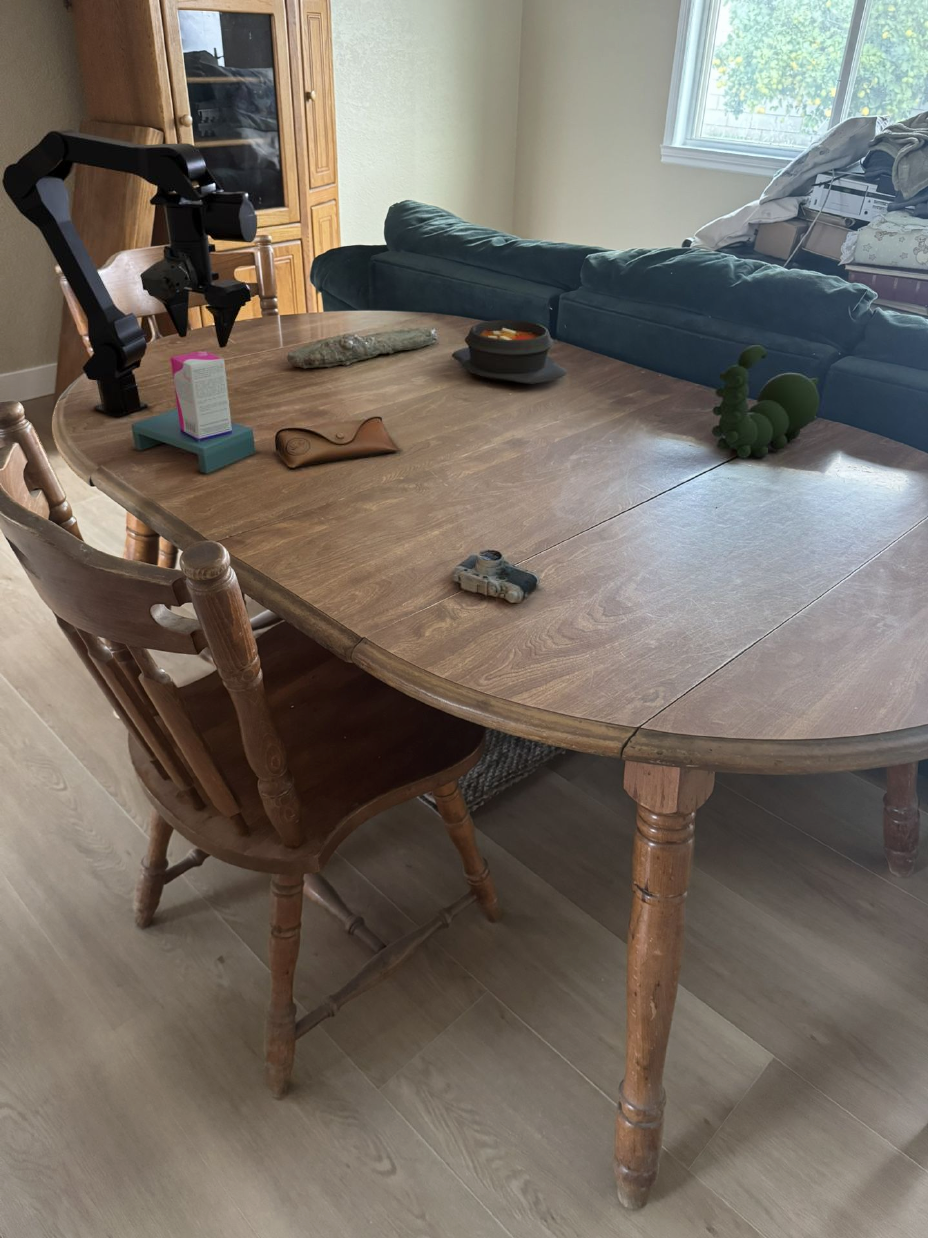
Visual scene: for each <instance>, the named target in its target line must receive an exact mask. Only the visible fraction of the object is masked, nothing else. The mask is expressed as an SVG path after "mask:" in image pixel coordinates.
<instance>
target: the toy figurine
mask: <svg viewBox="0 0 928 1238" xmlns="http://www.w3.org/2000/svg"><path fill="white" fill-rule="evenodd" d="M760 358H761V359H766V358H767V351H766V349H765V347H764V346H761V345H759V344H755V345H754V344H753V345H750V346H748V347H747V348H745V349H744V350H742V352H741V353H740V354H739V356H738V359H737V364H735V365H731V366H729V367H728V368H727V369H726V371H723V372H720V374H719V380H721V381H722V382H724V384H723V386H720V387H717V388H716V390H715V395H716V396H717V397H718V398H721V399H722V401H721V402H720V404H719V405H718V404H717V405H715V406H714V407H713V409H712V413H713V415H715V416H720V418H719V420H718V424H716V425H714V426H712V429H711V434H712V435H713V437H715V438H718V440H717V442H716V446H717V448H718V449H719V450H721V451H725V450H728V449H729V448H732V449H734V450H736V453H737V456H738V457H739V458H744V459H745V458H747V457H749V456H750V455H751V453H753V454H754V456H756V457H757V458H759V459H762V458H765V457H766V456H767V455H768V453H769V448H768V447H767V446H768V445H770V447H771V448H772V449H774V450H782V449H784V448H785V446H786V445H787V443H788V441H791V440H795V439H797V438H798V437H799V436H800V434H801V430H802V429H803V428H805V427H807V426H808V425H809V424H810V423H813V422H814V421H815V420H816V415H817V414H818V410H819V406H820V396H819V392H818V389H817V385H818V383H819V378H818V377H813V378H808V377H807V376H806V375H803V374H802V373H797V372H785V373H781V374H778V375H776V376H774V377H772V378H771V379H769V380H768V381H767V382H765V384H764V385H763V386H762V388H761V389H760V391H759V393H758V396H757V400H756V403H754V404H753V405H752V406H751V407H750V406H749V405H750V404H749V402H748V400H747V399H748V396H749V394H750V393H749V392H750V391H749V386H748V384H747V383H748V381H749V373H748V370H749V369H751V368H752V367H754V365H756V363H757V362H758V361H759V360H760Z"/></svg>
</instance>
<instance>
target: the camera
mask: <svg viewBox="0 0 928 1238" xmlns="http://www.w3.org/2000/svg"><path fill="white" fill-rule="evenodd" d="M451 575H452V576H451V578H452V580H453V581H454V582H457V583H459V584H460V588H461V589H462V590H464V591H467V592H468V591H469V592H472V593H474V594H475V593H480V594H483V595H484V596H491V597H494V598H501V599H504V600H506V601H508V602H509V603H512V604H513V603H516V604H519V603H522V601H524V600H525V599H526V598H528V597H529V595H530V594H532V593H533V592H535V590H537V589H538V588H539V586H540V583H541V580H540V577H539V576H538V575H537V574H536V573H535V572H533V571H529V570H527V569H524V568H521V567H518V566H516V565H515V564H512V563H510V562H508V561H507V560H506V559H505V557H504V555H503V553H502V551H498V550H495V549H483V550H480V551H479V552H478V553H477V554H471V555H469V556H468V557H467V558H465V559H464V560H463V561H462V562H460V563H459V564H457V565H456V566H455V567H453V569H452V571H451Z"/></svg>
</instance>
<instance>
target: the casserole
mask: <svg viewBox="0 0 928 1238" xmlns="http://www.w3.org/2000/svg"><path fill="white" fill-rule="evenodd" d="M464 342H465V344H466V345H467V346H466V347H463V348H461V349H457V350H455V351H454V352H453V353H452V354H451V357H452V358H453V359H454V360H456V361H457V362H458V363H459V364H460V366H461V367H462V369H464V370H466V371H467V372H469V373H471V374H474V375H477V376H479V377H483V378H485V379H489V380H493V381H499V382H515V383H521V384H526V385H527V384H528V385H532V384H533V385H534V384H542V383H547V382H552V381H556V380H558V379H561V378H562V377H565V376H566V375H567V374H568V372H567V370H566V369H565V368H564V367H562V366H560V365H559V364H558V363H556V362H555V361H554V360H553V359H552V358H551V357H550V356H549V352H550V349H551V348H552V347H553V346H554V340H553V339H552V338H551V335H550V332H549V329H548V328H547V327H545V326H543V325H541V324H539V323H535V322H531V321H525V320H516V319H495V320H493V319H492V320H487V321H482V322H478V323H476V324H474V325H472V326H471V327H470V329H469V332H468V335H466V337H465V338H464Z"/></svg>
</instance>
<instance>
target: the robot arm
mask: <svg viewBox="0 0 928 1238" xmlns="http://www.w3.org/2000/svg"><path fill="white" fill-rule="evenodd" d="M75 164H78V165H84V166H88V167H89V166H90V167H94V168H101V169H104V170H111V171H116V172H120V173H126V174H131V175H134V176H137V177H139V178H141V179H143V180H144V181H146V182H147V183H149V184H151V185H153V186H156V187H158V189H157V192H156V193H155V194H154V195H153V196H152V198H150V199H149V203H150V205H151V206H161V207H162V206H163V207H164V213H165V219H166V227H167V232H168V240H169V244H168V245H164V246H163V247H164V248H163V258H162V259H161V260H159V261H156V262H155V263H153V264H152V265H150V266H149V267H148V268H147V269H145V270H144V271H143V272H141V274H140V276H139V277H140V279H141V284H142V290H143V291H146V292H147V294H148V295H149V296H150V297H152V298H154V299H156V300H157V301H159V302H160V303H161V304H162V305H163V306H164V308H165V311H166V312H167V314H168V316H169V318H170V320H171V322H172V324H173V326H174V328H175V330H176V332H177V335H178V336H179V337H180V338H187V333H188V325H189V300H190V292H191V293H196V294H200V295H203V296H204V301H206V303H207V304H208V305H205V306H204V307H205V309H206V310H207V311H208V312H209V313H210V314H211V315H212V318H213V323H214V329H215V335H216V339H217V343H218V347H219V348H220V349H223V348H225V347H227V345H228V342H229V340H230V336H231V334H232V331H233V327H234V325H235V323H236V320H237V318H238V315H239V313H240V312H241V309H242V307H246V305H247V304H246V303H249V302H251V301H252V297H251V288H250V286H249V285H248V283H246V282H245V281H240V280H237V279H236V280H235V279H231V278H228V279H224V280H220V275H219V272H217V271H213V265H212V258H211V253H215V252H217V251H216V250H217V249H216V244H214V243H210V241H209V237H210V238H211V240H212V241H222V242H236V243H247V244H248V243H249V244H250V243H253V242H254V240H255V239H256V236H257V230H258V215H257V214H256V211H255V208H254V206H253V204H252V202H250V200H249V194H248V192H247V191H235V192H230V191H224V189H223V188H222V186H221V185H220V184H219V182H218V180H217V179H216V178H215V177H214V175H213V174H212V172H211V171H210V169H209V168H208V167H207V165H206V161H205V159H204V157H203V155H202V153H201V152H200V151H199V148H198V147H197V146H195V145H193V144H191V143H187V142H186V143H185V142H183V143H182V142H181V143H180V142H179V143H158V144H157V143H156V144H140V143H135V142H130V141H125V140H120V139H114V138H108V137H103V136H99V135H93V134H88V133H83V132H77V131H76V130H75V131H74V130H72V129H71V128H65V129H57V130H50V131H49V132H47V133H46V134H45V135H44V137H43V138H42V139H41V140H40V142H39V143H37V144H36V145H35V146H33V148H31V149H30V150H29V151H28V152H26V153H24V155H22V156H21V157H20V158H19V159H18V161H16V163H11V164H8V166H6V167H5V169H4V171H3V178H2V180H1V182H2V187H3V189H4V192H5V193H6V195H7V196H8V198H9V199H10V200H11V202H12V203H13V205H14V206H15V207H16V209H17V211H18V212H19V213H20V215H22V216H23V217H25V219H27V220H28V221H29V222H31V224H33V225H34V226H35V227H36V228H37V229H38V230H39V231H40V233H41V235H42V237H43V238H44V241H45V242H46V244H47V246H48V248H49V250H50V252H51V253H52V255H53V257H54V259H55V261H56V263H57V265H58V266H59V268H60V270H61V272H62V274H63V276H64V278H65V280H66V282H67V284H68V286H69V287H70V289H71V291H72V292H73V294H74V297H75V299H76V300H77V302H78V304H79V305H80V307H81V309H82V312H83V313H84V315H85V317H86V321H87V332H88V333H87V334H88V336H87V337H88V341H89V344H90V347H91V349H92V352H93V353H92V355H91V356H90V357H89V359H88V360H87V361H86V362H85V364H84V365H83V366H82V370H83V372H84V374H85V375H86V378H87V380H89V381H96V383H97V389H98V395H99V398H100V399H99V400H100V403H99V404H97V405H95V406H94V405H93V410H95V411H97V412H100V413H104V414H105V415H106V414H107V415H109V416H112V417H115V418H120V417H124V416H127V415H129V414H132V413H135V412H139V411H141V410H144V409H147V408H149V405H148V404H147V403H145V402H142V401H141V400H140V399H141V398H140V393H139V388H138V384H137V381H136V375H135V374H134V373H133V371H134V370H136V369H139V368H140V367H141V363H142V359H143V358H144V356H145V355H146V352H147V348H148V345H147V340H146V339H145V337H147V333H146V332H144V330H143V329H142V327H141V326H140V324H139V321H138V318H137V316H136V315H135V313H134V312H130V313H128V314H125V313H124V312H123V311H121V309H119V307H117V305H116V304H115V302H114V301H113V299H112V297H111V295H110V293H109V291H108V288H107V287H106V285H105V283H104V281H103V279H102V277H101V276H100V273H99V271H98V270H97V268H96V266H95V264H94V262H93V260H92V258H91V256H90V254H89V253H88V250H87V249H86V246H85V244H84V243H83V241H82V238H81V237H80V235H79V233H78V231H77V229H76V227H75V225H74V223H73V221H72V219H71V217H70V207H69V204H70V203H69V194H68V192H67V189H66V186H65V184H64V182H65V181H66V179H67V178H68V177H69V176H70V175H71V174H72V172H73V169H74V167H75ZM218 280H220V281H218ZM214 281H216V282H214Z"/></svg>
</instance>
